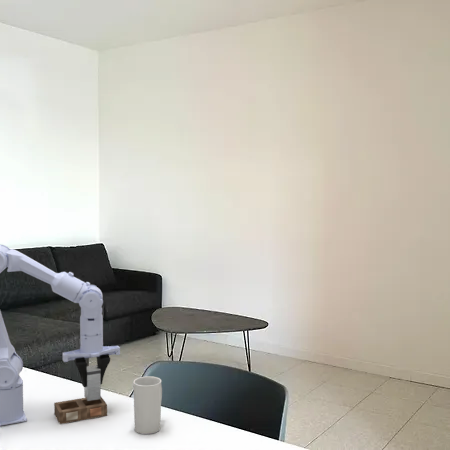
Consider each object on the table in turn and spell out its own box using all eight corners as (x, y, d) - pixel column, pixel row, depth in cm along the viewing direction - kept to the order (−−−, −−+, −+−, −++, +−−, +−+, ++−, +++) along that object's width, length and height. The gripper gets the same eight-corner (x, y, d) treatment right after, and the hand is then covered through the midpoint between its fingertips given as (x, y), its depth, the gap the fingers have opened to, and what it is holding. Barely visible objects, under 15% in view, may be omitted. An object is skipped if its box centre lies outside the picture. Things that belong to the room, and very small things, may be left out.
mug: (152, 437, 134) (152, 387, 133) (128, 431, 137) (127, 383, 136) (172, 421, 143) (172, 374, 142) (150, 416, 146) (149, 370, 145)
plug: (87, 401, 145) (87, 370, 144) (84, 396, 148) (84, 366, 147) (100, 398, 147) (100, 368, 146) (97, 394, 150) (97, 364, 149)
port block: (59, 424, 140) (59, 412, 140) (54, 413, 147) (54, 402, 147) (107, 416, 146) (107, 404, 146) (100, 406, 152) (100, 395, 152)
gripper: (66, 340, 139) (66, 394, 140) (123, 333, 146) (123, 385, 147) (60, 333, 146) (61, 385, 147) (115, 327, 152) (116, 376, 153)
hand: (92, 384), depth 147 cm, fingers closed on plug, 3 cm apart
